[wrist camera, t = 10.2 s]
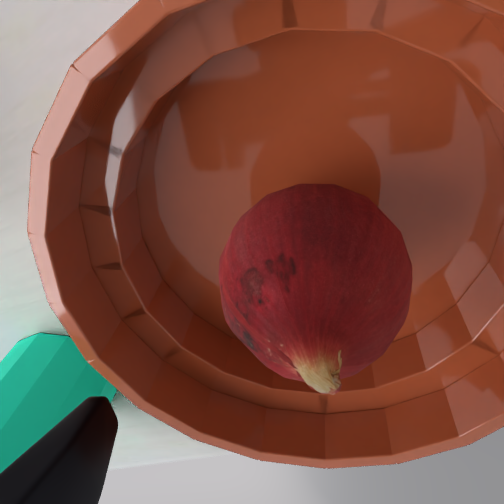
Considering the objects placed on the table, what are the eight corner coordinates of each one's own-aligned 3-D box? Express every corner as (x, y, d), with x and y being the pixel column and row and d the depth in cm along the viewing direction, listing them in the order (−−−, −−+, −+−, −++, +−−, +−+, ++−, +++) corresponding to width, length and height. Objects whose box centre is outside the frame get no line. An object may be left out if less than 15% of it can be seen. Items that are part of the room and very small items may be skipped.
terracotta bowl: (666, 191, 15) (803, 272, 11) (328, 420, 23) (331, 517, 19) (274, -208, 11) (248, -326, 7) (36, 237, 19) (-42, 307, 15)
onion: (244, 284, 19) (202, 455, 12) (231, 152, 16) (166, 280, 9) (385, 286, 18) (428, 471, 11) (400, 147, 15) (470, 284, 8)
